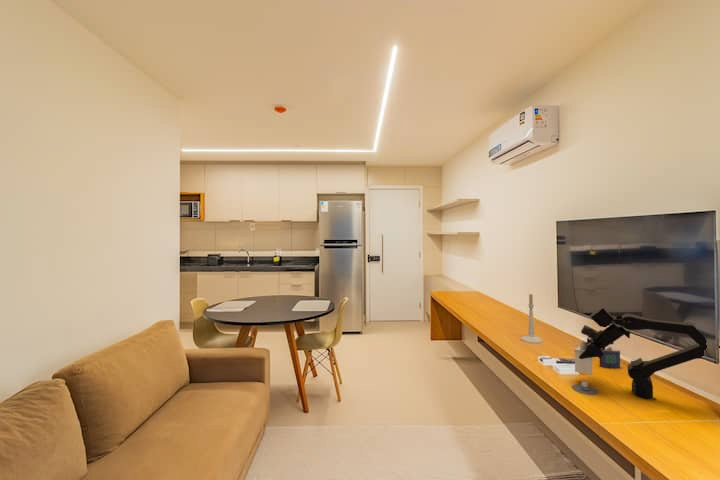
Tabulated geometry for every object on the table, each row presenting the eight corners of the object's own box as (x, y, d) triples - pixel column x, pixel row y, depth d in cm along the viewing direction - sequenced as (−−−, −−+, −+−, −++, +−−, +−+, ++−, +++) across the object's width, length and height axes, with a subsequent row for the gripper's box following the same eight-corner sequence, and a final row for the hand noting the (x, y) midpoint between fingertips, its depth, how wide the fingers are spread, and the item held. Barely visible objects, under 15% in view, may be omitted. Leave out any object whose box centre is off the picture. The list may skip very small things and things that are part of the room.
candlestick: (545, 343, 213) (545, 295, 212) (524, 343, 215) (523, 295, 214) (538, 337, 226) (538, 292, 225) (517, 336, 228) (517, 291, 227)
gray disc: (604, 396, 146) (604, 393, 146) (583, 398, 144) (583, 395, 144) (586, 385, 155) (585, 383, 155) (566, 387, 154) (566, 385, 154)
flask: (618, 366, 176) (618, 345, 175) (621, 368, 173) (621, 347, 173) (598, 365, 178) (598, 345, 177) (601, 367, 175) (601, 347, 175)
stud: (591, 390, 148) (591, 383, 148) (584, 391, 148) (584, 384, 148) (585, 387, 152) (585, 380, 152) (578, 387, 151) (578, 381, 151)
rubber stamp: (592, 369, 156) (592, 341, 156) (592, 374, 151) (591, 345, 151) (575, 367, 160) (575, 339, 160) (575, 371, 155) (574, 343, 154)
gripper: (593, 316, 160) (566, 336, 167) (593, 325, 145) (563, 347, 152) (615, 335, 156) (586, 355, 162) (616, 347, 141) (585, 368, 147)
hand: (579, 355), depth 156 cm, fingers closed on rubber stamp, 6 cm apart
